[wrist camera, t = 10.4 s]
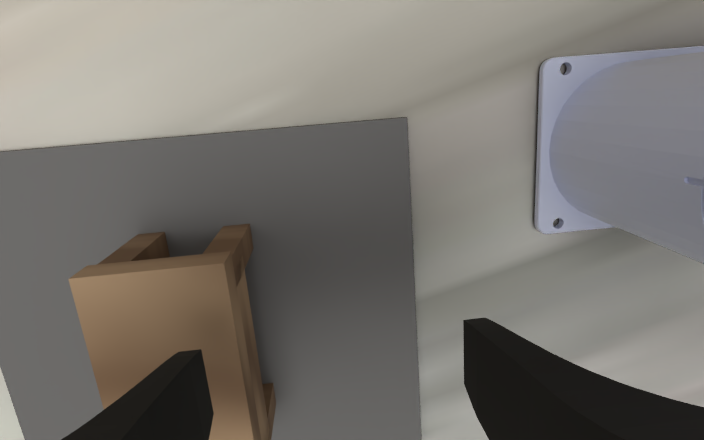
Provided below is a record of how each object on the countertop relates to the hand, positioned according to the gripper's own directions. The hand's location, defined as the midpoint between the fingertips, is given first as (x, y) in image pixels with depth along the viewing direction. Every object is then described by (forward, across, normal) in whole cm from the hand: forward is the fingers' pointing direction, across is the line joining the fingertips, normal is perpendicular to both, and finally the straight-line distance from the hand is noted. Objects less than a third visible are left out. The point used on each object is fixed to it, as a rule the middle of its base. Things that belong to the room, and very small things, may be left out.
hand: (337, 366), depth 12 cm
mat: (+9, +6, +3) cm, 12 cm away
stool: (+9, +6, +3) cm, 11 cm away
